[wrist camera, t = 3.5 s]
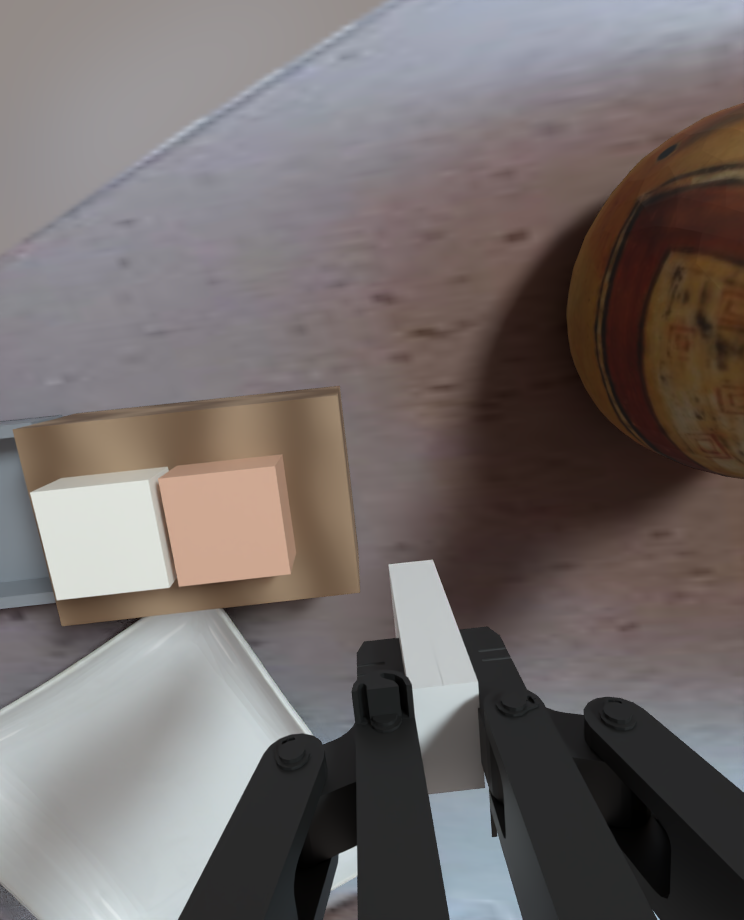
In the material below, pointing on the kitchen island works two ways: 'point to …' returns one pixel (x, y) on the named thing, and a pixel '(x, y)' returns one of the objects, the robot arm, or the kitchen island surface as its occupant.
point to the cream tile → (105, 533)
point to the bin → (19, 529)
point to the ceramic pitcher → (670, 299)
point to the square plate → (135, 769)
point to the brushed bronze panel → (209, 440)
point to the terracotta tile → (229, 520)
